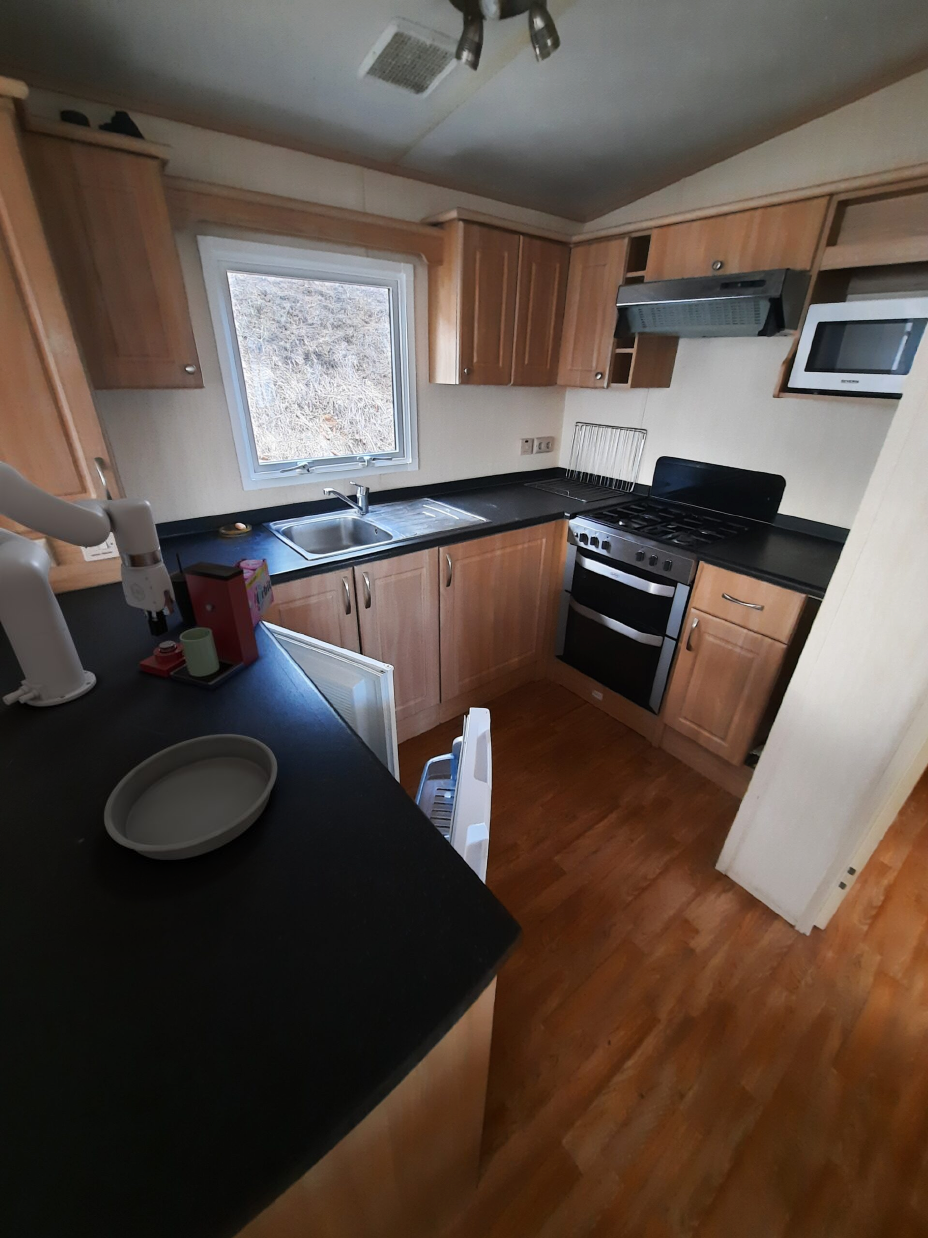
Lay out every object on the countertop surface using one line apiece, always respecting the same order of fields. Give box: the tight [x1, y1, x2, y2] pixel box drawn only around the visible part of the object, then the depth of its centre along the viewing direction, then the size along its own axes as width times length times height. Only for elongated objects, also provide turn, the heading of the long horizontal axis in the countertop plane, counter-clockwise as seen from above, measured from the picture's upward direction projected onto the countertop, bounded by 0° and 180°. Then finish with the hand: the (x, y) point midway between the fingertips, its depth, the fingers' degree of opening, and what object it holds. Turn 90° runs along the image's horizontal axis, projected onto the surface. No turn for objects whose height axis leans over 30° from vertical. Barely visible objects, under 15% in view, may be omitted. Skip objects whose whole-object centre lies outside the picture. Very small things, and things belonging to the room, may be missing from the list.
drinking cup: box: [168, 552, 197, 626], centre depth 136 cm, size 8×8×20 cm
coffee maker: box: [169, 561, 260, 690], centre depth 114 cm, size 15×12×23 cm
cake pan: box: [103, 733, 278, 861], centre depth 81 cm, size 25×25×4 cm
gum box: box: [232, 557, 275, 628], centre depth 141 cm, size 24×8×14 cm, turn 2°
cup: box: [179, 627, 220, 676], centre depth 114 cm, size 6×6×9 cm
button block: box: [138, 642, 186, 678], centre depth 120 cm, size 10×8×4 cm
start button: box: [158, 640, 176, 654], centre depth 119 cm, size 3×3×2 cm
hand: (160, 633), depth 116 cm, fingers closed
